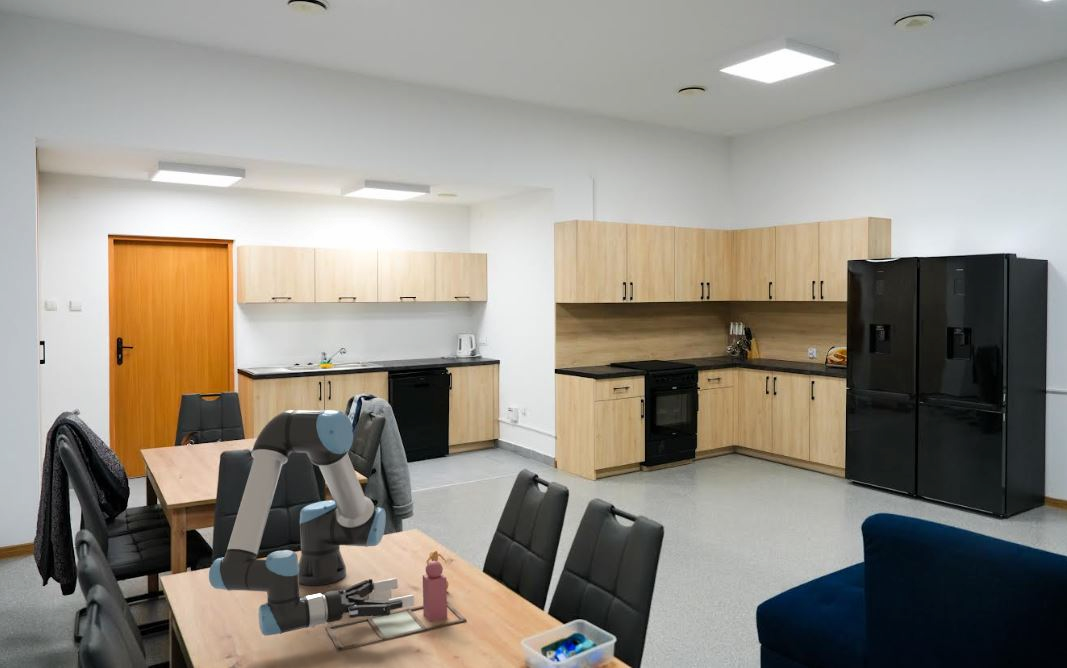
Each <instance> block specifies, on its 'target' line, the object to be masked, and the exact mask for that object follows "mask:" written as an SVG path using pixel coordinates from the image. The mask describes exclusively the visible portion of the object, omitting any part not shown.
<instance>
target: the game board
mask: <svg viewBox="0 0 1067 668" xmlns="http://www.w3.org/2000/svg"><path fill="white" fill-rule="evenodd" d="M421 609H423V605H419V606H415V607H413V606H412V607H410V608H409V607H408V608H403V609H401V610H400V609H399V610H394V611H390V615H388V616H366V617H364V618H360V619H359V618H358V619H354V620H349V621H346V622H345V621H344V622H341V623H336V624H331V625H327V626H324V627H325V628H326V629H325V630H326V632H327V634H328V635H329V637H330V640H331V641H332V642H334V643H333V644H334V646H335V648H336V649H338V650H337V651H338V652H340V651H345V650H346V651H347V650H350V649H354V648H358V647H361V646H366V645H371V644H375V643H379V642H383V641H387V640H392V639H393V640H394V639H397V638H401V637H405V636H409V635H413V634H418V633H424V632H427V631H430V630H434V629H440V628H443V627H447V626H452V625H457V624H459V623H460V624H462V623H465V622H467V618H465V617H464V616H463V615H462V614H461V613H460V612H459V611H458V610H457V609H456V608H455V607H454V606H453V605H452V604H451V603H449V601H447V609H449V610H450V611H451V612H452V613H453V614H454V615H456V617H457V618H458V619H456V620H452V621H448V622H443V623H439V624H435V625H431V626H425V624H424V623H423V622H422V621H421V619H419V618H418V616H416V614H415V613H414V612H413V611H417V610H421ZM367 620H368V621H367ZM362 622H367V623H369V625H370V627H372V629H373V630H374V631H375V633H376V634H377V636H378V638H374V639H370V640H365V641H362V642H358V643H352V644H349V645H344V646H342V645H341V643H340V642H339V640H338V639H337V637H336V635H335V633H334V632H333V630H332V629H334V628H335V627H336V628H340V627H344V626H349V625H353V624H358V623H362ZM339 626H340V627H339Z"/></svg>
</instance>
